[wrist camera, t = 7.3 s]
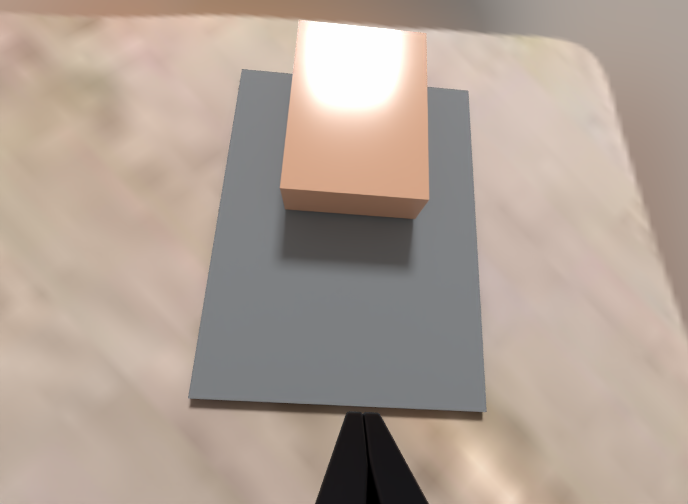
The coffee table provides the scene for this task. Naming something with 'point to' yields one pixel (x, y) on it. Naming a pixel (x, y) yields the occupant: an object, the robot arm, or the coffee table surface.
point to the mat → (341, 279)
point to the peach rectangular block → (357, 122)
